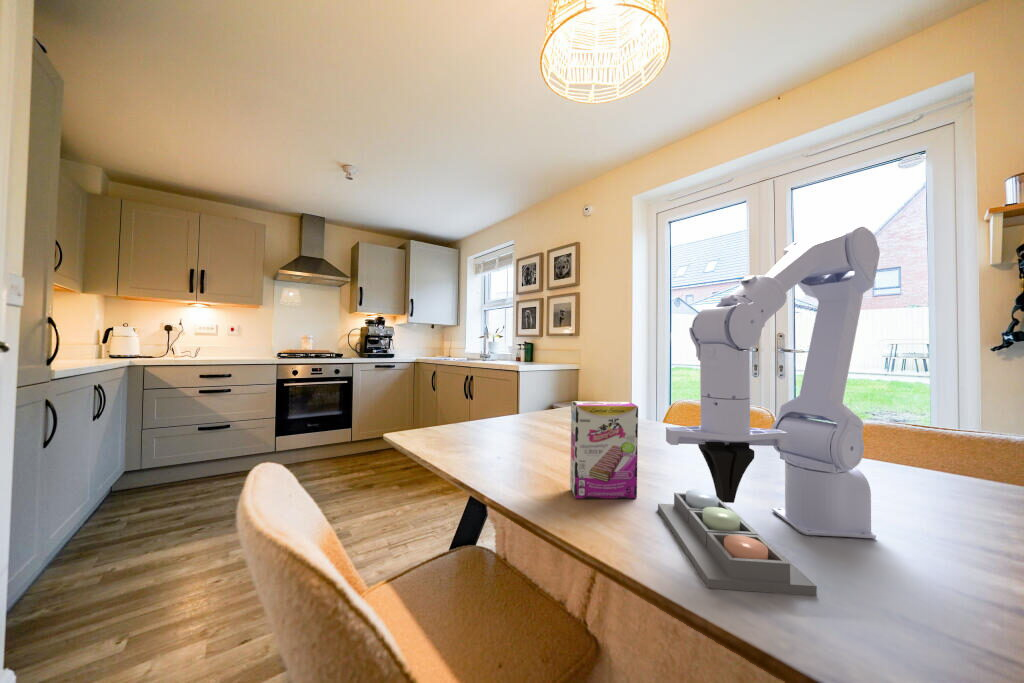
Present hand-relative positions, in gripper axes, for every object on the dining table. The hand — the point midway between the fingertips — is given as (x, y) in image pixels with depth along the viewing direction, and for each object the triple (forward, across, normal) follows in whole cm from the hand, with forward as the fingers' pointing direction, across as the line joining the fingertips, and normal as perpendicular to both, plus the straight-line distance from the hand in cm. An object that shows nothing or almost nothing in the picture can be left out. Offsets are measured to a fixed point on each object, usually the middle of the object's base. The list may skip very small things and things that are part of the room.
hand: (725, 499), depth 50 cm
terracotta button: (+5, 0, +5) cm, 7 cm away
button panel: (+6, 0, -1) cm, 6 cm away
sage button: (+4, 0, -1) cm, 4 cm away
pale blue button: (+4, 0, -8) cm, 9 cm away
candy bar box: (+6, +13, -17) cm, 22 cm away
